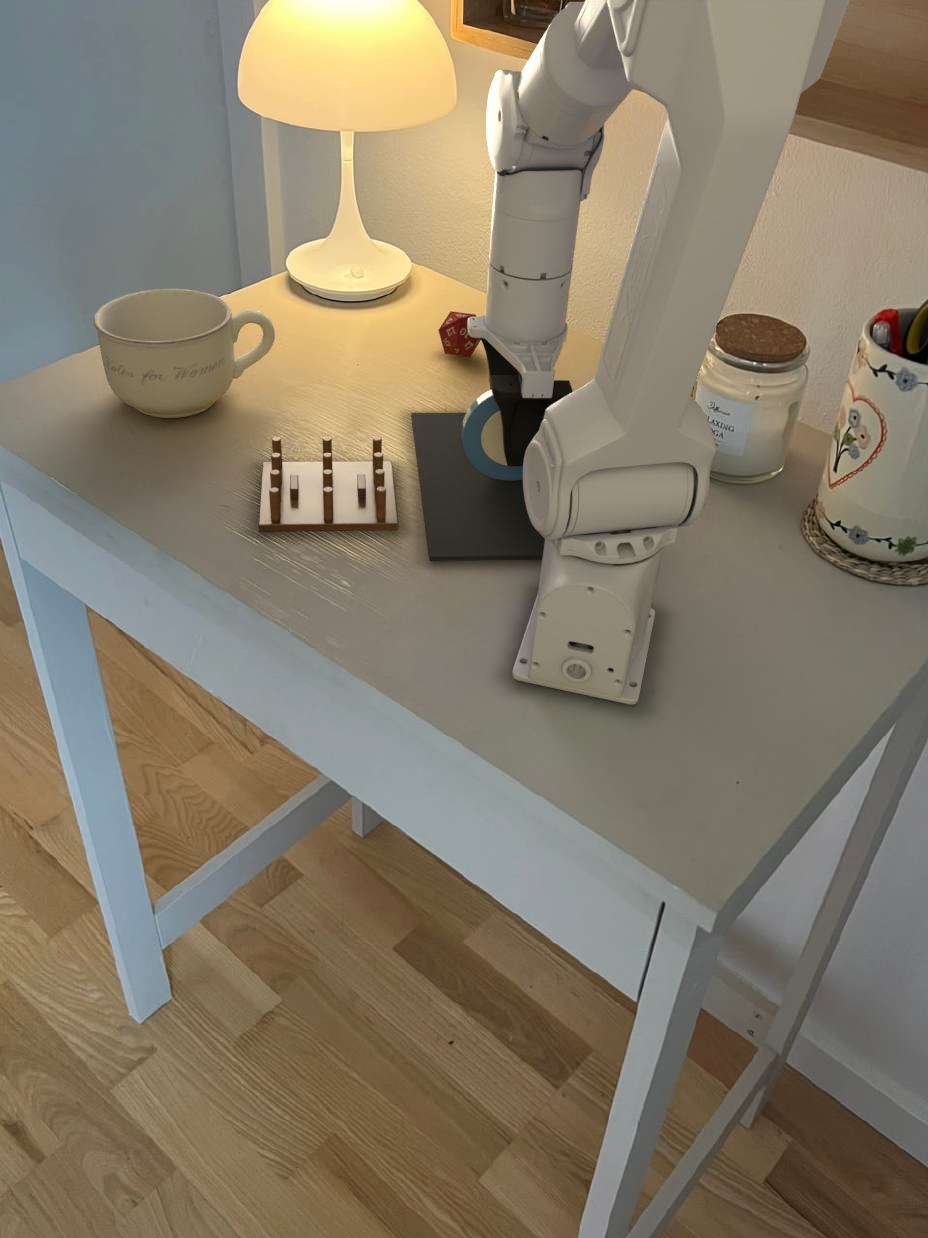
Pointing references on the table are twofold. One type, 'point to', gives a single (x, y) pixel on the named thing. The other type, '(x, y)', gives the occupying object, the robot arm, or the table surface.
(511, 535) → the placemat
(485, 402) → the plate
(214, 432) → the table surface
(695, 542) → the table surface
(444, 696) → the table surface
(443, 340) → the dice
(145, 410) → the teacup
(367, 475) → the rack
